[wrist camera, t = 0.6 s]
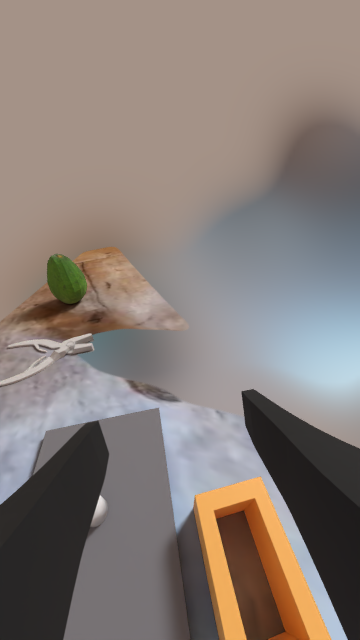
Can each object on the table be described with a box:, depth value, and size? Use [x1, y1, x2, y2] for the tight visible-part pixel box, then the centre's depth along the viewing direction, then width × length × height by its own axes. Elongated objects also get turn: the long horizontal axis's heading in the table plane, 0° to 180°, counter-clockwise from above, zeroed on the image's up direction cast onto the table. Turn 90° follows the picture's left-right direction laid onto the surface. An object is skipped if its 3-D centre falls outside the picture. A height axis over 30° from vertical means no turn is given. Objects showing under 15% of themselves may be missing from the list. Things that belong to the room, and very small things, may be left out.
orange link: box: [193, 477, 331, 640], centre depth 15 cm, size 9×6×5 cm, turn 12°
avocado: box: [47, 254, 87, 304], centre depth 47 cm, size 8×8×12 cm
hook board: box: [33, 408, 191, 640], centre depth 18 cm, size 18×14×6 cm
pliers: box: [0, 333, 94, 386], centre depth 36 cm, size 10×2×15 cm
